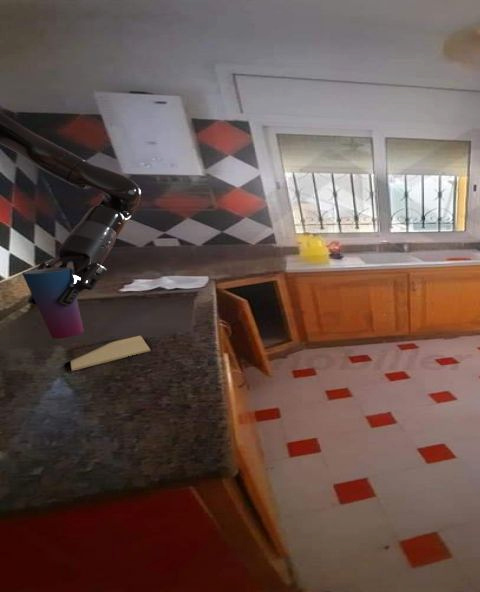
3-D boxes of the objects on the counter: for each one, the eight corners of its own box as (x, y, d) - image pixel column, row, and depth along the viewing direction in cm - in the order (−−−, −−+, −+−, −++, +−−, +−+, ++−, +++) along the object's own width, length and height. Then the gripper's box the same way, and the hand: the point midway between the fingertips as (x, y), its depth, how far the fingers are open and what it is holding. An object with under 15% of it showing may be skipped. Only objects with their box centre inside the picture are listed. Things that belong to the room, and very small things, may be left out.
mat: (71, 371, 83) (71, 369, 82) (70, 353, 93) (69, 351, 93) (150, 350, 94) (150, 349, 94) (141, 337, 104) (140, 335, 104)
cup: (40, 342, 68) (15, 275, 64) (51, 332, 73) (29, 269, 69) (85, 335, 72) (64, 271, 68) (92, 326, 77) (73, 266, 73)
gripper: (44, 233, 74) (-4, 296, 66) (104, 233, 74) (62, 296, 65) (76, 252, 80) (35, 311, 72) (131, 253, 80) (96, 312, 72)
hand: (48, 304), depth 69 cm, fingers closed on cup, 6 cm apart
